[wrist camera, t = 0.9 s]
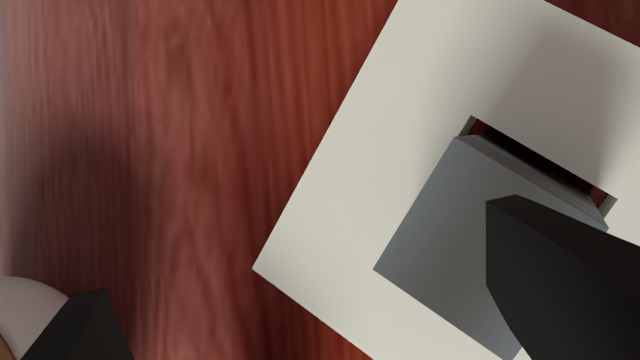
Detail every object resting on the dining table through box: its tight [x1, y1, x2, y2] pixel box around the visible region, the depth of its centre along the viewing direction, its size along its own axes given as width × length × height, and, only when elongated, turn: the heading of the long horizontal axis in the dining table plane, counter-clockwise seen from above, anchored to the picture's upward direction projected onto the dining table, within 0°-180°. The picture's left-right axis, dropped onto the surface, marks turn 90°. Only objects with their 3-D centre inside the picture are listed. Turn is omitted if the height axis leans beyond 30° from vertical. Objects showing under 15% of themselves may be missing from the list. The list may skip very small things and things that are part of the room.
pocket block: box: [252, 0, 640, 360], centre depth 21 cm, size 14×14×2 cm
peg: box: [373, 134, 609, 360], centre depth 19 cm, size 4×4×8 cm
